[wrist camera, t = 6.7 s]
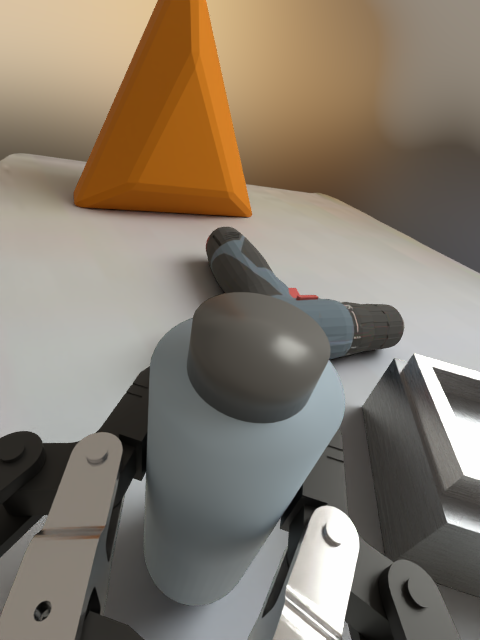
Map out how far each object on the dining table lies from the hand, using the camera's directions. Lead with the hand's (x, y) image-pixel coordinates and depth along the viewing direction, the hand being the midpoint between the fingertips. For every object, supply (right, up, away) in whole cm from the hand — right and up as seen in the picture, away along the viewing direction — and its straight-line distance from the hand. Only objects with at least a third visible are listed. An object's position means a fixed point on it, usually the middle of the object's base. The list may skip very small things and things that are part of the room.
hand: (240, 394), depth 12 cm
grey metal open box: (+13, -8, +7) cm, 17 cm away
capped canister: (-2, -6, +1) cm, 7 cm away
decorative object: (-12, +22, +41) cm, 49 cm away
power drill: (+4, +4, +21) cm, 22 cm away
